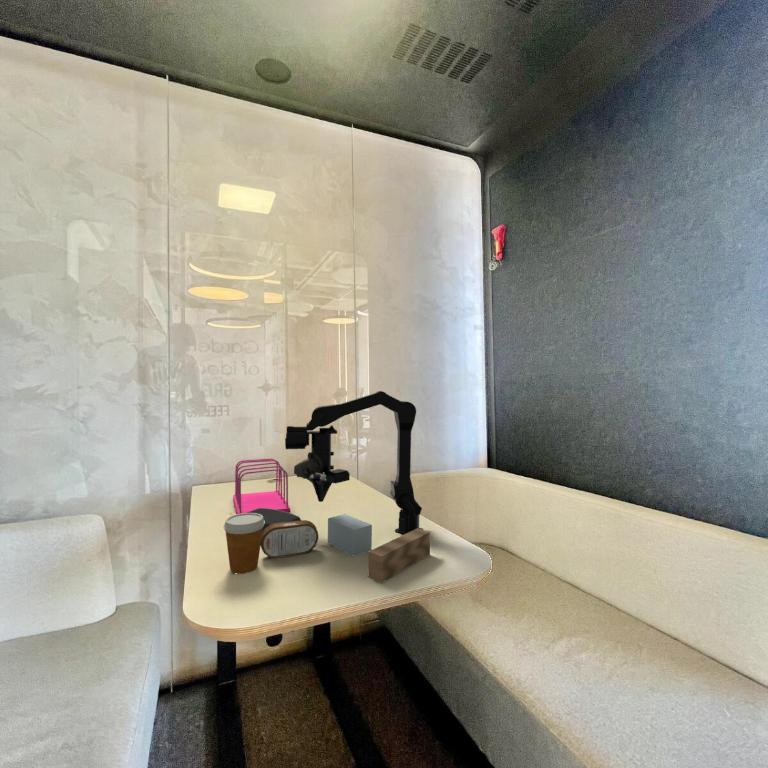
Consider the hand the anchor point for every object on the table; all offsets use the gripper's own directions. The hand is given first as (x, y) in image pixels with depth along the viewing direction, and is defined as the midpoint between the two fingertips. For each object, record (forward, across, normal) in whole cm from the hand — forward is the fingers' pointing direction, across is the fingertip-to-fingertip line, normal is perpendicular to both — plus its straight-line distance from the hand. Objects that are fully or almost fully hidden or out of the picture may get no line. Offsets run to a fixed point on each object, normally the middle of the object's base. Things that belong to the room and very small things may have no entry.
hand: (320, 501), depth 117 cm
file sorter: (+10, -39, +5) cm, 41 cm away
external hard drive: (+11, -18, -6) cm, 22 cm away
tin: (+10, +4, -14) cm, 18 cm away
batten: (+10, +30, 0) cm, 32 cm away
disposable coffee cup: (+10, +2, -26) cm, 28 cm away
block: (+10, +12, 0) cm, 16 cm away
